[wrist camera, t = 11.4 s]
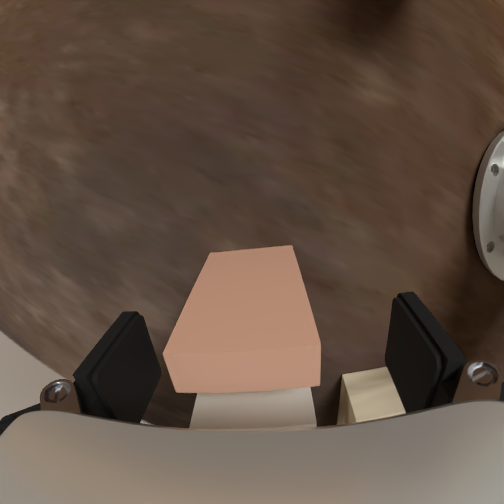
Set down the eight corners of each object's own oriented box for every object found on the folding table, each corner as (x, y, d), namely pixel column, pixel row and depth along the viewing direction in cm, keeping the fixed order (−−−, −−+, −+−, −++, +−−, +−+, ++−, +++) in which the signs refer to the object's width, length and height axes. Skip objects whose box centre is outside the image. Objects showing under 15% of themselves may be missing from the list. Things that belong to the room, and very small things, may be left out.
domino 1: (209, 252, 19) (162, 353, 9) (291, 245, 18) (321, 344, 9) (214, 279, 19) (176, 392, 10) (293, 272, 19) (319, 385, 9)
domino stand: (342, 374, 21) (356, 421, 17) (430, 356, 21) (456, 394, 16) (336, 427, 24) (345, 469, 19) (413, 410, 23) (431, 447, 18)
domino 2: (218, 309, 20) (188, 428, 10) (294, 302, 20) (316, 423, 10) (222, 331, 20) (198, 451, 11) (295, 326, 20) (315, 446, 11)
